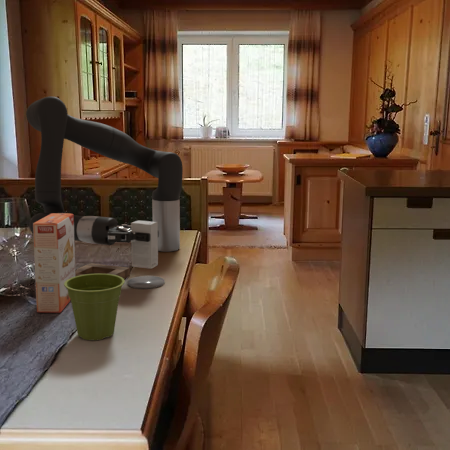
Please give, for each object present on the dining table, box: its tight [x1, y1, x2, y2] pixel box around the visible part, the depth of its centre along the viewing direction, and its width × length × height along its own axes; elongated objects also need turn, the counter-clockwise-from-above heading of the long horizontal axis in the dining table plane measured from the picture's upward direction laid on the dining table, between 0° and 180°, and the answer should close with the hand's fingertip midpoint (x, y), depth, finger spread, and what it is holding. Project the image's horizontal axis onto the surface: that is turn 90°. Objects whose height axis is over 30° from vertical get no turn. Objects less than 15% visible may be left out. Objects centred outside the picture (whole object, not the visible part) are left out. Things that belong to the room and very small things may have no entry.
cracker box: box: [32, 212, 76, 314], centre depth 124 cm, size 14×6×21 cm, turn 2°
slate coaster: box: [126, 275, 166, 290], centre depth 142 cm, size 10×10×1 cm
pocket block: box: [75, 262, 131, 280], centre depth 145 cm, size 13×13×2 cm
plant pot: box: [64, 274, 126, 341], centre depth 107 cm, size 12×12×11 cm
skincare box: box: [130, 220, 159, 269], centre depth 140 cm, size 6×4×12 cm
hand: (153, 235), depth 139 cm, fingers closed on skincare box, 4 cm apart
